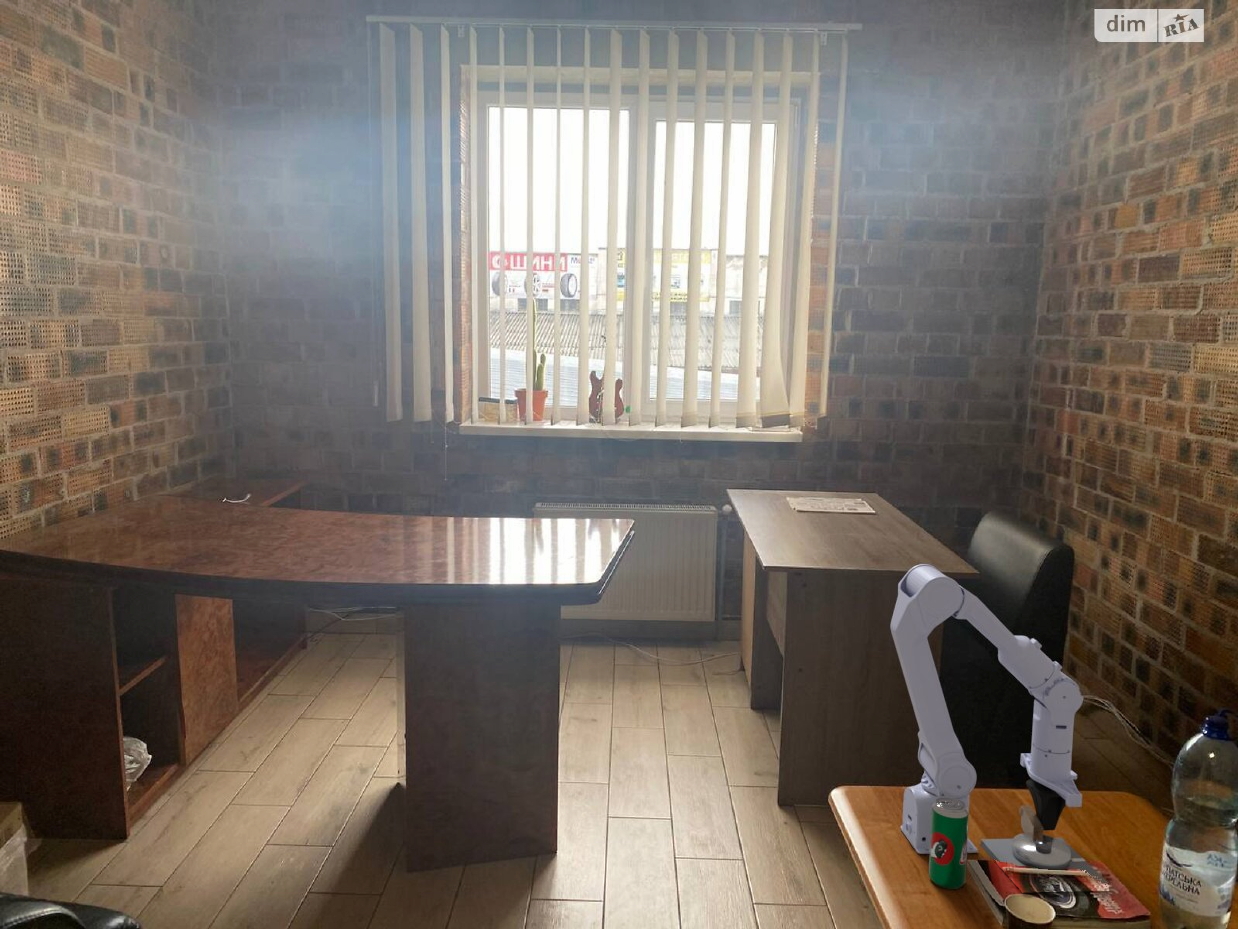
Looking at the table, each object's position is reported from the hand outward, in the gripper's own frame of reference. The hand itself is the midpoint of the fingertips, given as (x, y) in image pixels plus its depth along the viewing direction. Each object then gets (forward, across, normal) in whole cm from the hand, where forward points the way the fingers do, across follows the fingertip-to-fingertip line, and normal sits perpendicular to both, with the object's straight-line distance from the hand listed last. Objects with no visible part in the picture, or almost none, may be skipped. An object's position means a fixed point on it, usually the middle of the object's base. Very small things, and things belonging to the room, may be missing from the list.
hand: (1046, 828), depth 141 cm
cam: (+1, -3, +3) cm, 4 cm away
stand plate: (+2, -7, +4) cm, 8 cm away
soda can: (+3, -10, +20) cm, 23 cm away
